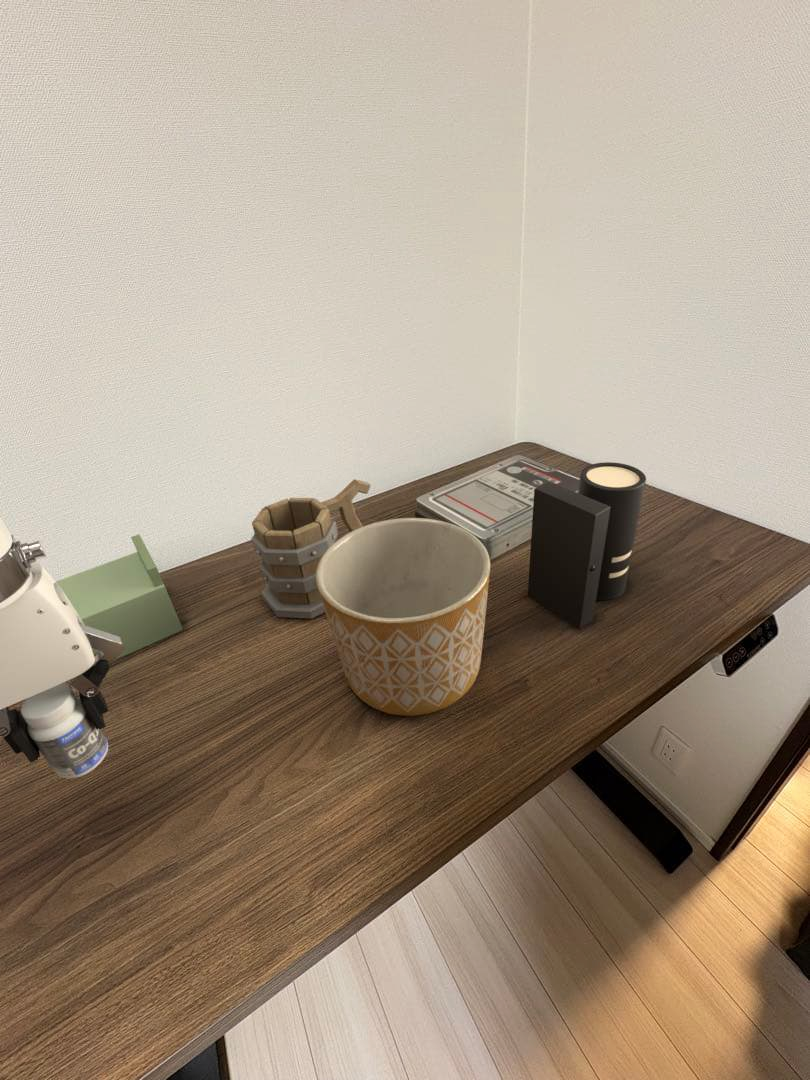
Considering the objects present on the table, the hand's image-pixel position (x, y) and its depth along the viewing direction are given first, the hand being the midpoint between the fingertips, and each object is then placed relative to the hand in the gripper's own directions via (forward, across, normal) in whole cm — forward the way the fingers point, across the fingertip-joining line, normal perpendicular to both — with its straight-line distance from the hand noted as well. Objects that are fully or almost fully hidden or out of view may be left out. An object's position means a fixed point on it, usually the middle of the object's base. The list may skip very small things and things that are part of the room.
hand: (67, 732), depth 49 cm
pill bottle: (+4, 0, 0) cm, 4 cm away
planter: (+11, -36, +5) cm, 37 cm away
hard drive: (+11, -70, -15) cm, 73 cm away
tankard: (+11, -36, -18) cm, 42 cm away
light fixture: (+11, -64, +9) cm, 65 cm away
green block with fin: (+12, -6, -28) cm, 31 cm away
